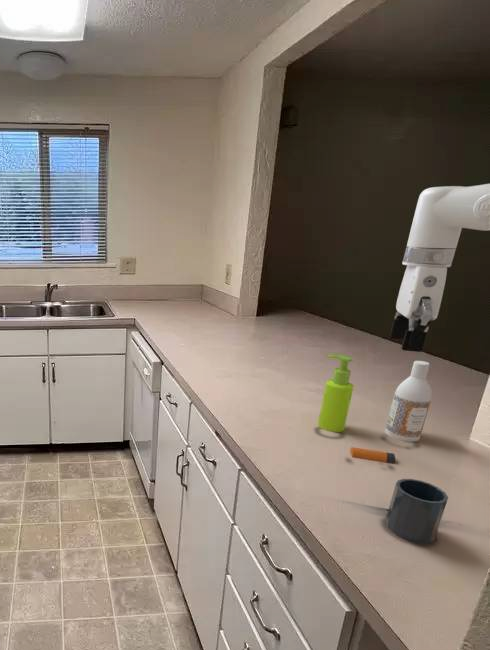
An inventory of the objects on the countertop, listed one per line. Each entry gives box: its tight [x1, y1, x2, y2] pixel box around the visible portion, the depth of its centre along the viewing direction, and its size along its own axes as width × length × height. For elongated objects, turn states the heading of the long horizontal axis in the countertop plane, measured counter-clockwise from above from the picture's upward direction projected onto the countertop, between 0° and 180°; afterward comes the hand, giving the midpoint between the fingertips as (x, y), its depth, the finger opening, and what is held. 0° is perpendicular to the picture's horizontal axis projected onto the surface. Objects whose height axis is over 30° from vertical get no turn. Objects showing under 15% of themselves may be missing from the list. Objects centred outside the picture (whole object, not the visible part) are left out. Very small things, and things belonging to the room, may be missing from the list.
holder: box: [385, 478, 449, 544], centre depth 74 cm, size 7×7×8 cm
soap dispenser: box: [317, 353, 354, 433], centre depth 107 cm, size 6×7×20 cm
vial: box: [349, 446, 396, 465], centre depth 96 cm, size 8×3×3 cm, turn 68°
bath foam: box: [384, 360, 432, 443], centre depth 103 cm, size 7×7×20 cm
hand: (404, 344), depth 88 cm, fingers open, 9 cm apart
